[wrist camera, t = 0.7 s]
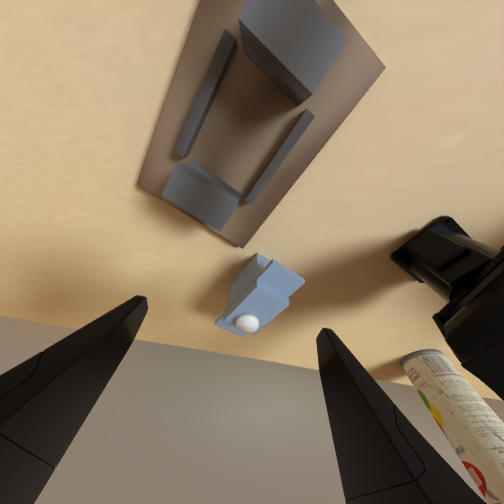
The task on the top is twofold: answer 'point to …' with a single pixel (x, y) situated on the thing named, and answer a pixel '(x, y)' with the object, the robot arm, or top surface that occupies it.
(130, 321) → the robot arm
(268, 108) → the pocket board
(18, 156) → the top surface
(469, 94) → the top surface
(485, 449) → the aerosol can
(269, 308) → the block
